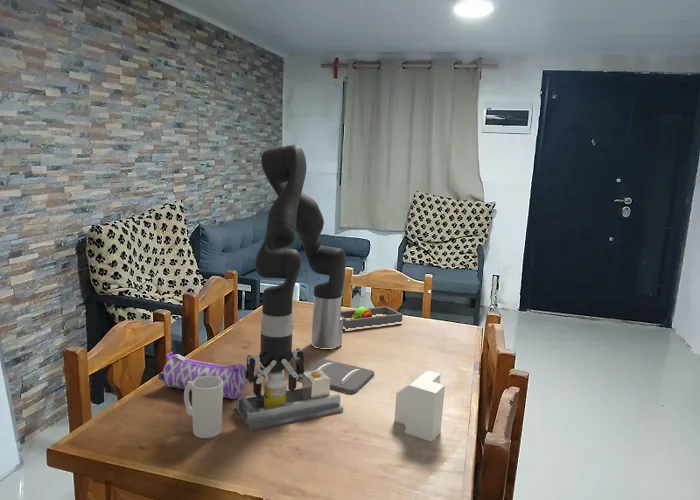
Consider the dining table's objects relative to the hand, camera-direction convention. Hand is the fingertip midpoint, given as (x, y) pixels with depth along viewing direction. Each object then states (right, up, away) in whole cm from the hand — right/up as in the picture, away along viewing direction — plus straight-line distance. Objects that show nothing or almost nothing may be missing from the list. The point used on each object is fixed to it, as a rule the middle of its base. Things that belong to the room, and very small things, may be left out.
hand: (274, 393), depth 133 cm
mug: (-16, -6, -8) cm, 19 cm away
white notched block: (+35, -8, -1) cm, 36 cm away
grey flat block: (+15, -2, +24) cm, 28 cm away
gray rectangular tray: (+25, +7, +73) cm, 77 cm away
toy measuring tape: (+26, +7, +74) cm, 79 cm away
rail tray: (+3, -5, +3) cm, 6 cm away
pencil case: (-20, -2, +11) cm, 23 cm away
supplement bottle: (0, -4, +1) cm, 4 cm away
